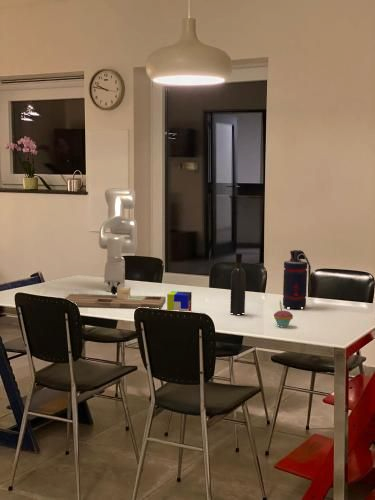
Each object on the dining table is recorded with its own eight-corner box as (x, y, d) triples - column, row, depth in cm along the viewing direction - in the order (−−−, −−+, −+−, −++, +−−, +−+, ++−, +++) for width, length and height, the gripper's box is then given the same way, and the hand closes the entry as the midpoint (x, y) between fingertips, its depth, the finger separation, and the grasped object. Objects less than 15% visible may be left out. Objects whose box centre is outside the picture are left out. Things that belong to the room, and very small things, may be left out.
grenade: (284, 309, 343) (286, 251, 340) (281, 305, 355) (282, 249, 352) (311, 310, 343) (313, 252, 340) (307, 306, 354) (309, 249, 351)
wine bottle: (229, 314, 329) (230, 253, 326) (236, 312, 333) (238, 252, 330) (238, 315, 325) (239, 254, 322) (245, 314, 329) (247, 253, 326)
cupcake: (270, 326, 302) (271, 300, 301) (278, 323, 309) (279, 297, 308) (287, 329, 298) (288, 302, 296) (295, 325, 305) (296, 299, 304)
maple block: (119, 296, 359) (119, 287, 359) (130, 296, 359) (130, 287, 358) (117, 298, 354) (117, 289, 353) (128, 298, 353) (128, 289, 352)
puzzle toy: (187, 315, 324) (187, 295, 323) (167, 314, 326) (167, 294, 325) (191, 312, 334) (191, 292, 333) (171, 310, 336) (171, 291, 335)
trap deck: (70, 298, 366) (70, 293, 365) (165, 301, 362) (165, 296, 362) (59, 306, 342) (59, 301, 341) (160, 309, 338) (160, 304, 338)
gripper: (129, 259, 359) (129, 293, 360) (101, 258, 360) (101, 292, 362) (127, 261, 351) (126, 295, 353) (98, 260, 352) (98, 294, 354)
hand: (114, 294), depth 357 cm, fingers closed
